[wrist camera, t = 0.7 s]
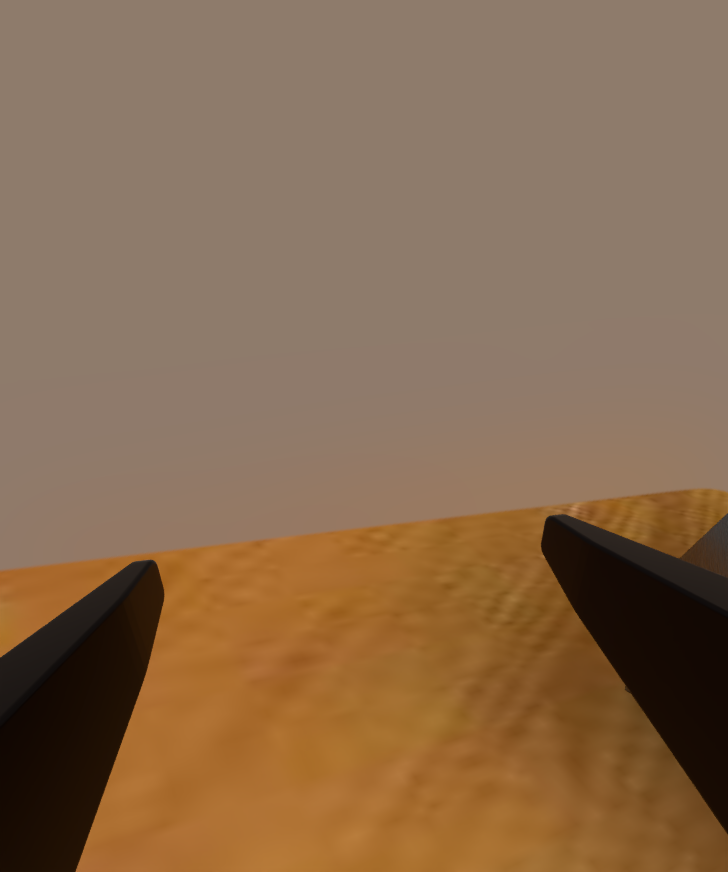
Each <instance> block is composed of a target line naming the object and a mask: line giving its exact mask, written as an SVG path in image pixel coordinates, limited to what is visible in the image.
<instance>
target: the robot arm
mask: <svg viewBox="0 0 728 872" xmlns="http://www.w3.org/2000/svg"><path fill="white" fill-rule="evenodd" d="M541 548H542V552H543V555H544V556H545V558H546V560H547V562H548V564H549V566H550V567H551V569H552V571H553V573H554V575H555V576H556V578H557V580H558V582H559V584H560V585H561V587H562V589H563V591H564V593H565V594H566V596H567V598H568V600H569V602H570V603H571V605H572V607H573V608H574V610H575V612H576V613H577V615H578V616H579V618H580V619H581V621H582V622H583V624H584V625H585V627H586V628H587V630H588V631H589V632H590V634H591V635H592V637H593V638H594V640H595V641H596V643H597V644H598V646H599V647H600V649H601V650H602V651H603V653H604V654H605V656H606V657H607V659H608V660H609V662H610V663H611V665H612V666H613V668H614V669H615V670H616V672H617V673H618V675H619V676H620V678H621V679H622V681H623V682H624V684H625V685H626V687H627V688H628V689H629V691H630V692H631V694H632V695H633V697H634V698H635V700H636V701H637V703H638V704H639V706H640V707H641V708H642V710H643V711H644V713H645V714H646V716H647V717H648V719H649V720H650V722H651V723H652V725H653V726H654V727H655V729H656V730H657V732H658V733H659V735H660V736H661V738H662V739H663V741H664V742H665V743H666V745H667V746H668V748H669V749H670V751H671V752H672V754H673V755H674V757H675V758H676V760H677V761H678V762H679V764H680V765H681V767H682V768H683V770H684V771H685V773H686V774H687V776H688V777H689V779H690V780H691V781H692V783H693V784H694V786H695V787H696V789H697V790H698V792H699V793H700V795H701V796H702V798H703V799H704V800H705V802H706V803H707V805H708V806H709V808H710V809H711V811H712V812H713V814H714V815H715V817H716V818H717V819H718V821H719V822H720V824H721V825H722V827H723V828H724V830H725V831H726V833H727V834H728V578H727V577H725V576H722V575H719V574H717V573H714V572H712V571H709V570H707V569H704V568H701V567H699V566H696V565H694V564H691V563H689V562H686V561H683V560H681V559H678V558H676V557H673V556H671V555H668V554H665V553H663V552H660V551H658V550H655V549H653V548H650V547H647V546H645V545H642V544H640V543H637V542H635V541H632V540H630V539H627V538H624V537H622V536H619V535H617V534H614V533H612V532H609V531H606V530H604V529H601V528H599V527H596V526H594V525H591V524H588V523H586V522H583V521H581V520H578V519H576V518H573V517H570V516H568V515H564V514H561V515H553V516H549V517H547V519H546V521H545V525H544V531H543V536H542V542H541ZM163 602H164V588H163V584H162V581H161V577H160V573H159V570H158V566H157V564H156V562H155V561H153V560H145V561H136V562H132V563H131V564H129V565H128V566H127V567H125V568H124V569H122V570H121V571H120V572H118V573H117V574H115V575H114V576H113V577H111V578H110V579H109V580H107V581H106V582H104V583H103V584H102V585H100V586H99V587H97V588H96V589H95V590H93V591H92V592H91V593H89V594H88V595H86V596H85V597H84V598H82V599H81V600H79V601H78V602H77V603H75V604H74V605H73V606H71V607H70V608H68V609H67V610H66V611H64V612H63V613H61V614H60V615H59V616H57V617H56V618H55V619H53V620H52V621H50V622H49V623H48V624H46V625H45V626H43V627H42V628H41V629H39V630H38V631H37V632H35V633H34V634H32V635H31V636H30V637H28V638H27V639H25V640H24V641H23V642H21V643H20V644H19V645H17V646H16V647H14V648H13V649H12V650H10V651H9V652H7V653H6V654H5V655H3V656H2V657H0V872H76V869H77V866H78V863H79V860H80V858H81V855H82V852H83V849H84V846H85V844H86V841H87V838H88V835H89V832H90V830H91V827H92V824H93V821H94V818H95V816H96V813H97V810H98V807H99V804H100V802H101V799H102V796H103V793H104V790H105V788H106V785H107V782H108V779H109V776H110V774H111V771H112V768H113V765H114V762H115V760H116V757H117V754H118V751H119V748H120V746H121V743H122V740H123V737H124V734H125V732H126V729H127V726H128V723H129V720H130V718H131V715H132V712H133V709H134V706H135V704H136V701H137V698H138V695H139V692H140V690H141V687H142V684H143V681H144V678H145V675H146V671H147V668H148V664H149V660H150V656H151V652H152V648H153V644H154V639H155V635H156V631H157V627H158V623H159V619H160V615H161V610H162V606H163Z"/></svg>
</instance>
